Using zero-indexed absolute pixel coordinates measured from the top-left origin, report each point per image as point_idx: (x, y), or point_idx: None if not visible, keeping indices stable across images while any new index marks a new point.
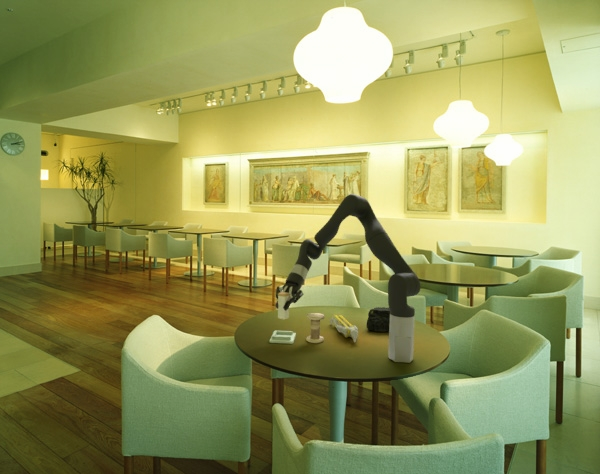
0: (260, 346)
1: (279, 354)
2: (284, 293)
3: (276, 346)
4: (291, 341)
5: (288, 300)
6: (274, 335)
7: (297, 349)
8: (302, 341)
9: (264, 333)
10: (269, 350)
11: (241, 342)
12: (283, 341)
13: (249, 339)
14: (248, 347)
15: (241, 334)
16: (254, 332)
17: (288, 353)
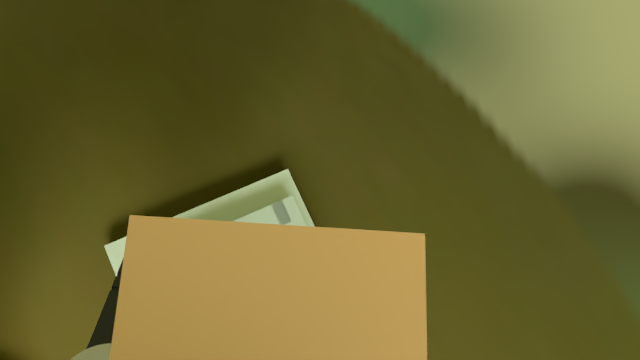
0: (293, 76)
1: (92, 6)
2: (215, 349)
3: (195, 129)
4: (117, 241)
5: (103, 350)
6: None
7: (14, 152)
8: (60, 349)
9: (450, 343)
10: (195, 39)
11: (445, 81)
12: (183, 213)
13: (445, 158)
14: (347, 25)
15: (561, 220)
16: (525, 317)
17: (41, 49)
